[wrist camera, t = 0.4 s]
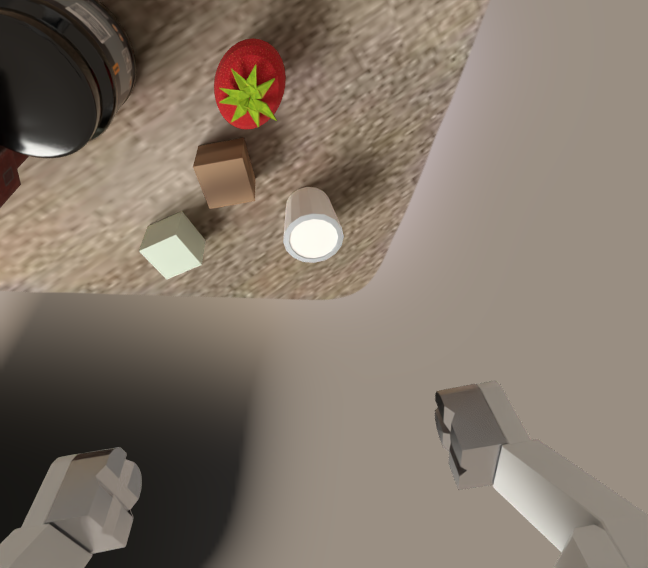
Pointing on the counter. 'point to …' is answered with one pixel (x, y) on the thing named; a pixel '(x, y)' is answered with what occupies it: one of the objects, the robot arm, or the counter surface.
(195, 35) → the counter surface
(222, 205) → the walnut block
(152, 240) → the sage block
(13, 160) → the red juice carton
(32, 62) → the supplement container
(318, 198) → the shot glass
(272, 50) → the strawberry
